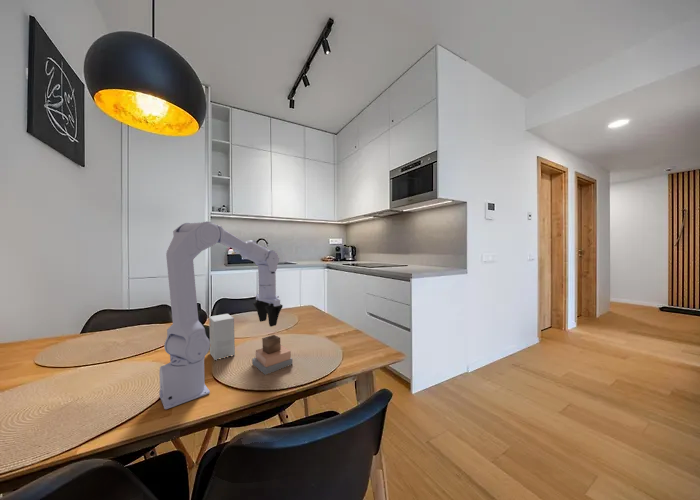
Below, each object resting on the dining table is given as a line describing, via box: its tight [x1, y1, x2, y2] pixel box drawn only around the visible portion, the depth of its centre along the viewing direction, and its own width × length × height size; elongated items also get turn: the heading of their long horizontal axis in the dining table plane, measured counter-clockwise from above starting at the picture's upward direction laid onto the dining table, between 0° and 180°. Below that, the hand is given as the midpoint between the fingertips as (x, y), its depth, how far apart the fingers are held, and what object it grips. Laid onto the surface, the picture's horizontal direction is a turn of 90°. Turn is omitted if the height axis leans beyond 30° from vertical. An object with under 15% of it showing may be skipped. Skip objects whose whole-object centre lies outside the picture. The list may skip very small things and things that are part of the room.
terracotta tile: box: [255, 343, 292, 367], centre depth 81 cm, size 8×8×2 cm
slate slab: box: [251, 357, 293, 376], centre depth 81 cm, size 9×9×2 cm
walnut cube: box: [261, 334, 282, 354], centre depth 81 cm, size 4×4×4 cm
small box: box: [208, 313, 236, 361], centre depth 89 cm, size 8×6×13 cm
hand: (267, 323), depth 90 cm, fingers open, 7 cm apart
